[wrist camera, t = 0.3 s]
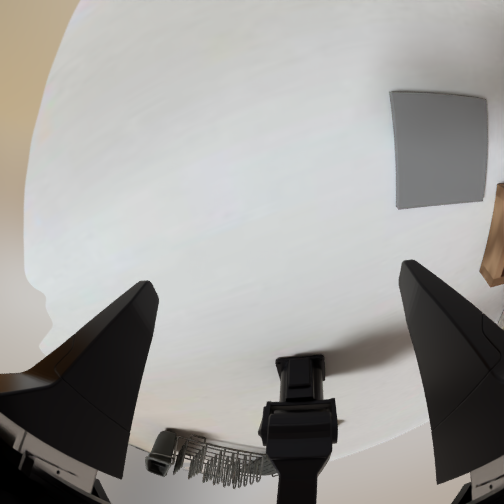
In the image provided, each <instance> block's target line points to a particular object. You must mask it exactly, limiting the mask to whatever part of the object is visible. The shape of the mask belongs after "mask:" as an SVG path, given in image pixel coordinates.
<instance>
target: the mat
mask: <svg viewBox="0 0 504 504" xmlns="http://www.w3.org/2000/svg"><path fill="white" fill-rule="evenodd" d="M389 93H390V101H391V109H392V118H393V129H394V142H395V159H396V207H397V208H398V210H399V209H408V208H417V207H427V206H437V205H447V204H458V203H469V202H480V201H483V196H484V187H485V177H486V164H487V104H486V99H482V98H476V97H468V96H460V95H450V94H437V93H419V92H389Z"/></svg>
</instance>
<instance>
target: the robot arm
mask: <svg viewBox="0 0 504 504" xmlns="http://www.w3.org/2000/svg"><path fill="white" fill-rule="evenodd" d="M399 288H400V292H401V297H402V302H403V306H404V311H405V317H406V321H407V325H408V329H409V333H410V336H411V339H412V343H413V347H414V350H415V354H416V358H417V362H418V366H419V370H420V374H421V378H422V383H423V387H424V392H425V397H426V402H427V407H428V413H429V419H430V425H431V430H432V440H433V447H434V457H435V467H436V481H437V485H438V484H441V483H444V482H446V481H449V480H452V479H454V478H457V477H459V476H462V475H464V474H466V473H469V472H470V475H471V482H469V483H467V484H465V485H464V486H463V487H462V489H461V491H460V492H459V493H458V495H457V496H456V498H455V499H454V501H453V502H452V503H451V504H504V330H503V329H502V328H500V327H499V326H498V325H497V324H496V323H494V322H493V321H492V320H491V319H490V318H488V317H487V316H486V315H485V314H482V312H481V311H480V310H479V309H478V308H477V307H475V306H474V305H473V304H472V303H470V302H469V301H468V300H467V299H466V298H464V297H463V296H462V295H461V294H459V293H458V292H457V291H455V290H454V289H453V288H452V287H450V286H449V285H448V284H446V283H445V282H444V281H442V280H441V279H440V278H438V277H437V276H436V275H434V274H433V273H432V272H430V271H429V270H428V269H426V268H425V267H424V266H422V265H421V264H419V263H418V262H417V261H415V260H405V261H403V262H402V265H401V271H400V276H399ZM158 304H159V298H158V295H157V293H156V291H155V289H154V287H153V285H152V283H151V282H150V281H148V280H147V281H139V282H138V283H136V284H135V285H134V286H133V287H131V288H130V289H129V290H128V291H126V292H125V293H124V294H123V295H121V296H120V297H119V298H118V299H116V300H115V301H114V302H113V303H111V304H110V305H109V306H108V307H106V308H105V309H104V310H103V311H101V312H100V313H99V314H98V315H97V316H95V317H94V318H93V319H92V320H91V321H89V322H88V323H87V324H86V325H84V326H83V327H82V328H81V329H80V330H79V331H77V332H76V334H74V335H73V336H71V337H70V338H69V339H68V340H67V341H65V342H64V343H63V344H62V345H61V346H59V347H58V348H57V349H56V350H54V351H53V352H52V353H50V354H49V355H48V356H46V357H45V358H44V359H43V360H41V361H40V362H39V363H37V364H36V365H35V366H34V367H32V368H31V369H29V370H27V371H25V372H21V373H9V374H0V504H111V503H110V501H109V499H108V497H107V495H106V493H105V491H104V489H103V487H102V485H101V483H100V481H99V480H98V479H96V475H97V471H98V470H99V471H101V472H104V473H106V474H108V475H111V476H113V477H116V478H119V479H122V477H123V471H124V465H125V458H126V453H127V447H128V442H129V436H130V430H131V425H132V420H133V416H134V411H135V406H136V402H137V397H138V393H139V389H140V384H141V380H142V376H143V372H144V368H145V364H146V360H147V356H148V353H149V349H150V345H151V341H152V337H153V332H154V327H155V321H156V315H157V310H158ZM275 364H276V367H277V370H278V374H279V377H280V381H281V384H280V402H271V401H267V405H266V406H265V407H264V409H263V418H262V421H261V424H260V427H259V431H258V435H259V436H260V437H261V438H262V442H263V446H266V454H267V456H268V457H269V459H270V461H271V463H272V465H273V466H274V468H275V470H276V471H277V473H278V475H279V483H278V495H277V504H316V497H317V496H316V495H317V477H318V476H319V474H320V473H321V471H322V470H323V468H324V467H325V465H326V464H327V462H328V461H329V459H330V455H331V452H332V444H335V443H337V437H338V423H337V413H336V404H335V398H331V399H326V400H323V381H324V380H325V362H324V356H323V355H317V356H307V357H295V358H282V359H276V363H275Z"/></svg>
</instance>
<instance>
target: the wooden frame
mask: <svg viewBox="0 0 504 504" xmlns="http://www.w3.org/2000/svg"><path fill="white" fill-rule="evenodd" d="M480 273H481V274H482V276H483V277H484V278H485V280H486V281H487V283H488V284H489V286H490V287H494V286H498V285H501V284H504V184H497V191H496V198H495V205H494V211H493V216H492V222H491V227H490V232H489V236H488V241H487V245H486V249H485V253H484V257H483V260H482V264H481V267H480Z"/></svg>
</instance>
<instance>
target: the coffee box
mask: <svg viewBox="0 0 504 504" xmlns="http://www.w3.org/2000/svg"><path fill="white" fill-rule="evenodd" d="M497 325H498V326H499V327H500V328H502V329H503V330H504V311H503V314H502V316H501V318H500V320H499V322H498V324H497Z"/></svg>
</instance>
